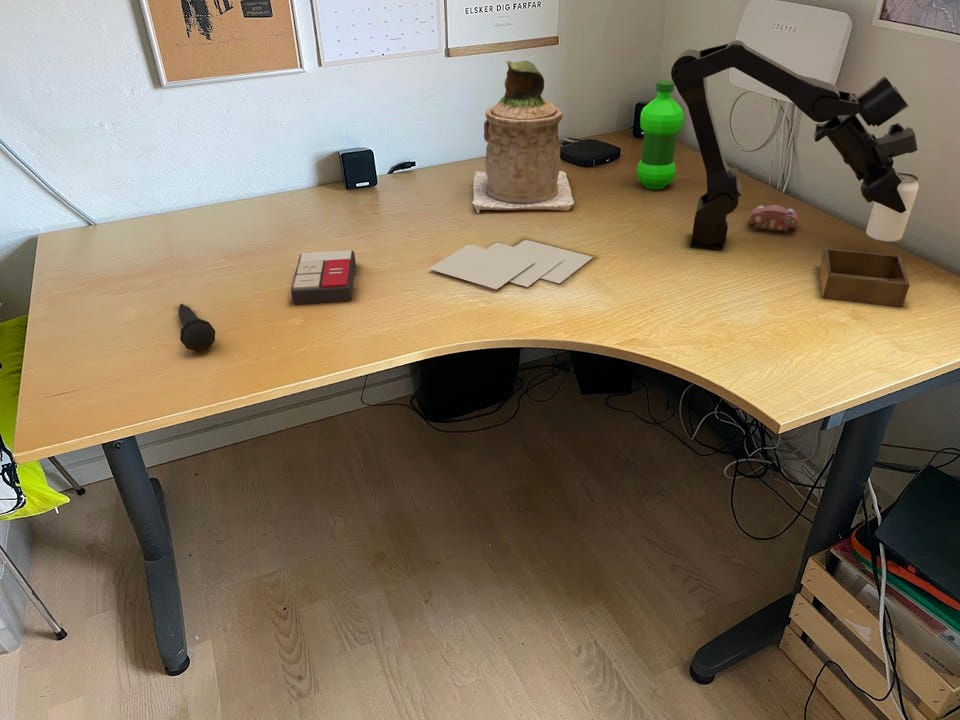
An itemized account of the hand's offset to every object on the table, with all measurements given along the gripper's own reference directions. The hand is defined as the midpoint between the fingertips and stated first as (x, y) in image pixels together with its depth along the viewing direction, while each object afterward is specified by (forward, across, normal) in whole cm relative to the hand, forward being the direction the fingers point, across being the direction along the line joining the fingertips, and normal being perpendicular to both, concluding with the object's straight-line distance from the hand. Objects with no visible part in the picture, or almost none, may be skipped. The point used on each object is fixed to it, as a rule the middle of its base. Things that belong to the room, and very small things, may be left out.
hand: (901, 205), depth 137 cm
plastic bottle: (-26, +32, +44) cm, 60 cm away
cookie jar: (-47, +18, +66) cm, 83 cm away
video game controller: (-6, +11, +24) cm, 27 cm away
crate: (+4, -13, +12) cm, 18 cm away
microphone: (-74, -61, +93) cm, 134 cm away
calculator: (-64, -39, +83) cm, 112 cm away
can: (+4, 0, +6) cm, 7 cm away
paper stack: (-41, -21, +59) cm, 75 cm away
